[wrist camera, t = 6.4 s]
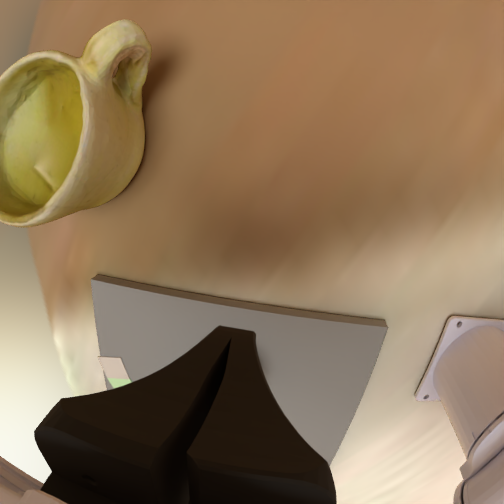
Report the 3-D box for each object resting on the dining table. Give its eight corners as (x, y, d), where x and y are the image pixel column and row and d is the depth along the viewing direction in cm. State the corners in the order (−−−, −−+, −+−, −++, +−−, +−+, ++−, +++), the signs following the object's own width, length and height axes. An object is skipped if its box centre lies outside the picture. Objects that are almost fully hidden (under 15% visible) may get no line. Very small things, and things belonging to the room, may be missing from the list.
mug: (68, 262, 20) (-41, 252, 10) (41, 148, 21) (-43, 102, 11) (220, 179, 20) (170, 97, 10) (168, 68, 21) (117, -24, 11)
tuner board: (384, 320, 21) (388, 328, 20) (313, 487, 27) (313, 495, 26) (95, 273, 22) (87, 279, 21) (125, 450, 29) (121, 457, 28)
